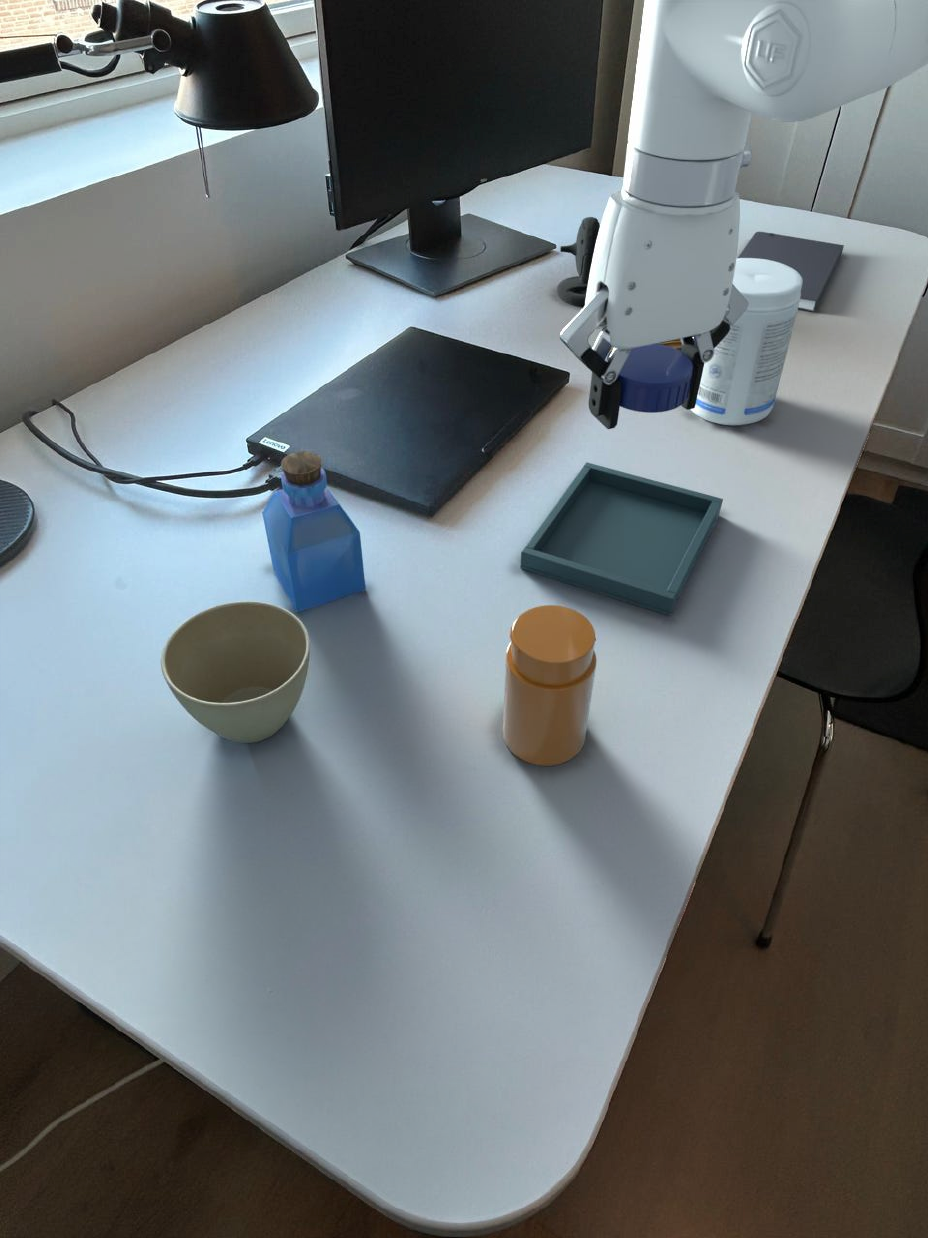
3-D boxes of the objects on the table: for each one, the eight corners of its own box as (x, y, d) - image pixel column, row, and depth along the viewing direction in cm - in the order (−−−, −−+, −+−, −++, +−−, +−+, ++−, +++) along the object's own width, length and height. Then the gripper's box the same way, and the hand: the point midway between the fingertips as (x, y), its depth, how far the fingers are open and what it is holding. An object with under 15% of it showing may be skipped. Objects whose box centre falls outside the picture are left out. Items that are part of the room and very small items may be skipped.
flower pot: (212, 794, 60) (189, 727, 55) (165, 700, 66) (141, 632, 61) (344, 733, 64) (334, 666, 59) (288, 650, 70) (274, 582, 65)
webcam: (614, 307, 116) (624, 229, 109) (558, 307, 116) (564, 229, 109) (609, 283, 121) (617, 207, 115) (555, 283, 122) (560, 207, 115)
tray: (584, 477, 87) (586, 461, 86) (719, 515, 83) (723, 498, 82) (520, 568, 77) (521, 551, 76) (669, 616, 73) (673, 599, 72)
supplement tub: (761, 385, 101) (794, 256, 91) (780, 429, 94) (818, 295, 84) (676, 384, 101) (699, 255, 91) (689, 428, 94) (716, 294, 84)
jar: (560, 692, 67) (571, 592, 60) (600, 749, 63) (617, 649, 56) (489, 716, 65) (492, 616, 58) (525, 777, 61) (533, 677, 54)
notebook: (813, 312, 115) (841, 255, 129) (817, 300, 114) (844, 244, 128) (717, 293, 119) (754, 241, 133) (720, 282, 118) (756, 230, 132)
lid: (590, 375, 72) (593, 347, 70) (666, 366, 73) (671, 337, 71) (620, 418, 67) (625, 388, 65) (702, 407, 68) (708, 377, 66)
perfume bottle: (273, 569, 77) (250, 452, 69) (339, 549, 79) (324, 433, 71) (297, 612, 73) (275, 493, 65) (365, 589, 75) (353, 472, 67)
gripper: (752, 143, 64) (704, 369, 76) (539, 173, 59) (525, 410, 71) (821, 174, 59) (758, 411, 71) (595, 210, 54) (570, 458, 66)
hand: (642, 409), depth 71 cm, fingers closed on lid, 6 cm apart
